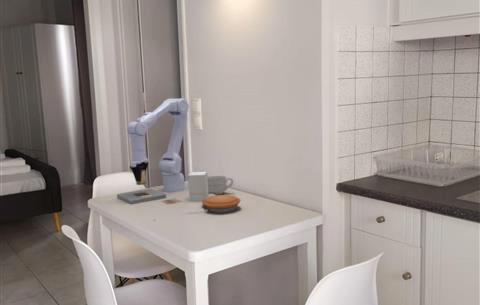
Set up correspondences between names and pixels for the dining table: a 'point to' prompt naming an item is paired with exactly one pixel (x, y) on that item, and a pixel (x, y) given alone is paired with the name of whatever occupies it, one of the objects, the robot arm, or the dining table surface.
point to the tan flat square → (171, 201)
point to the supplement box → (198, 186)
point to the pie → (221, 203)
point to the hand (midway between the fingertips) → (140, 180)
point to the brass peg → (142, 179)
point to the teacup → (218, 184)
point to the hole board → (141, 196)
